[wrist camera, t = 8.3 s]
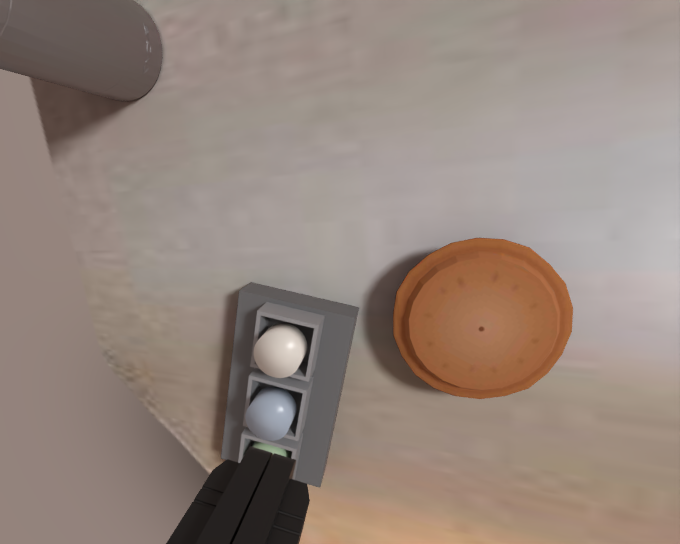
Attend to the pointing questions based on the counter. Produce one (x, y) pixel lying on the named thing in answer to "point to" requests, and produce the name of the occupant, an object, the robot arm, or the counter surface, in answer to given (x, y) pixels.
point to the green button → (272, 449)
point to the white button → (280, 350)
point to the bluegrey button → (271, 413)
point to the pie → (482, 318)
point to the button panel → (304, 385)
